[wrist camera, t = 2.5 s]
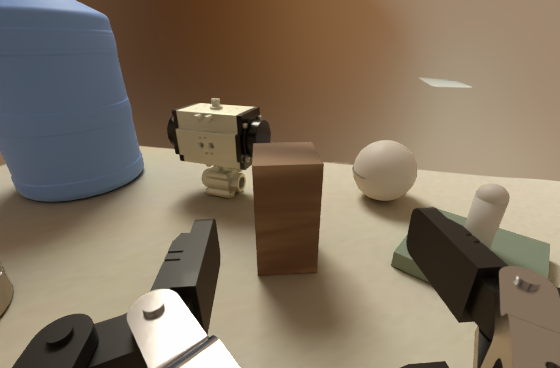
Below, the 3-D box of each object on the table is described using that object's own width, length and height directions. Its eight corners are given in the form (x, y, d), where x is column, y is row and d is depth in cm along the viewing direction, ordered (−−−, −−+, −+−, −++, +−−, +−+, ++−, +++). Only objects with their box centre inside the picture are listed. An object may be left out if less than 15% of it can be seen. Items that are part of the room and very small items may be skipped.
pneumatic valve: (197, 178, 42) (185, 93, 36) (272, 190, 38) (270, 98, 33) (172, 195, 37) (154, 100, 32) (255, 211, 33) (249, 107, 28)
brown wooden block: (316, 272, 24) (323, 163, 20) (257, 275, 24) (252, 166, 20) (307, 237, 29) (311, 141, 24) (258, 239, 29) (253, 143, 24)
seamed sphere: (416, 192, 37) (428, 138, 34) (403, 219, 32) (417, 157, 29) (343, 175, 42) (348, 126, 39) (321, 196, 37) (325, 140, 33)
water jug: (166, 163, 47) (124, -51, 35) (84, 212, 33) (-33, -112, 21) (89, 155, 51) (27, -41, 38) (-12, 196, 37) (-159, -87, 25)
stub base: (537, 333, 19) (591, 241, 16) (391, 265, 25) (407, 188, 22) (543, 257, 26) (581, 182, 23) (426, 218, 32) (443, 153, 29)
